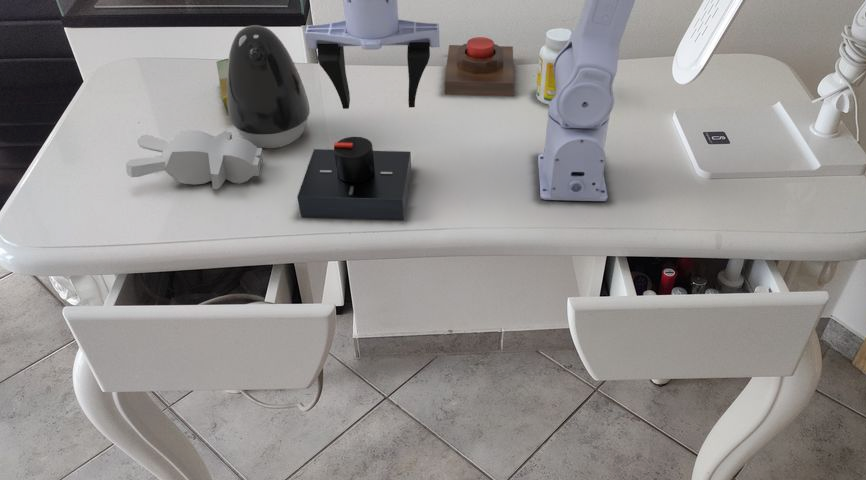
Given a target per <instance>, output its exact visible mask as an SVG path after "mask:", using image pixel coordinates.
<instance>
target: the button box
mask: <svg viewBox="0 0 866 480" xmlns="http://www.w3.org/2000/svg"><path fill="white" fill-rule="evenodd" d="M444 74H445V75H444V95H449V96H453V95H454V96H485V97H486V96H488V97H489V96H490V97H491V96H492V97H514V85H515V77H514V46H512V45H511V46H510V45H509V46H508V45H506V46H505V45H504V46H503V45H498V44H496V43H494V55H493V56H492V57H490V58H485V59H476V58H472V57H469V56H468V55H467V43H463V44H449V45H448V51H447V59H446V67H445V73H444Z"/></svg>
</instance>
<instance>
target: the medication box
mask: <svg viewBox="0 0 866 480" xmlns="http://www.w3.org/2000/svg"><path fill="white" fill-rule="evenodd" d="M228 59H229V57H227V58H225V59H221V60H218V61H216V63H215V64H216V70H217V76H218V82H219V88H220V94H221V99H222V102H223V103H222V104H223V105H224V108H225V110H226V114H227V116H228V117H229V113H228V104H227V69H228Z"/></svg>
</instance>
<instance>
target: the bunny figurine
mask: <svg viewBox="0 0 866 480" xmlns="http://www.w3.org/2000/svg"><path fill="white" fill-rule="evenodd" d="M232 134H233V133H232V132H229V131H223V132H221V133H219V134H217V135H215V136H213V135H211V134H209V133H208V132H205V131H200V130H191V129H189V130H181V131H179V132H178V133H177V134H176V135H174V137H172V138H171V139H170V140H169V141H166V140H163V139H162V138H161V139H160V138H158V137H155V136H153V135H149V134H145V135H144V134H143V135H141V136H140V137H139V138H137V141H136V142H137V144H138V146H139V148H141V149H144V150H149V151H154V152H157V153H161V154H160V156H149V157H139V158H133V159H129V160H128V161H127V160H126V162H125V169H126V175H127V176H128V177H130V178H139V177H143V176H147V175H151V174H154V173H158V172H162V171H165V172H166V174H168V175H169V176H171V177H172V178H173V179H174V180H175V181H176V183H178V184H179V183H180V184H183V185H204V184H207V183H209V182H211V185H212V189H213V190H214V189H220V188H221V187H222V185H223V184H224V183H225V181H226V180H227V181H229V182H231V183H232V184H240V185H241V184H243V183H247V182H248V181H249V180H250V179H251V178H253V177H254V176H255V177H256V176H257V177H258V176H259V175H260V172H261V166H262V163H263V160H264V154H263V147H258V146H255V145H253V144H252V143H251V142H250V141H248V140H246V139H244V138H243V137H233V135H232Z"/></svg>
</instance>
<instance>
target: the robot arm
mask: <svg viewBox="0 0 866 480" xmlns="http://www.w3.org/2000/svg"><path fill="white" fill-rule="evenodd" d="M342 2H343V11H344V20H341V21H335V22H328V23H321V24H310V25H308V24H307V25H306V27H305V31H304V36H305V43H306V49H307V50H310V51H311V50H317V56H316V58H317V62H318V64H319V66H320V67H321V68H322V69H323V72H325V74H326V75H327V76H328V78H329V80H330V81H331V83H332V85H333V87H334V88H335V91H336V93H337V95H338V97H339V100H340V103H341V106H342V109H344V110H348V109H350V103H351V96H350V95H351V94H350V88H349V82H348V78H347V70H346V59H345V49H344V48H345V47H361V49H362V50H366V51H368V50H371V51H373V50H374V51H375V50H380V49H382V47H383V46H384V47H385V46H387V47H388V46H407V50H406V51H407V54H406V58H407V72H408V73H407V74H408V108H415V107H416V98H417V97H416V96H417V92H418V88H419V84H420V82H421V78H422V76H423V74H424V71H425V69H426V67H427V66H428V63H429V61H430V57H431V48H440V44H441V43H440V23H438V22H437V23H436V22H434V23H432V22H431V23H430V22H420V21H413V20H405V19H399V7H398V0H342ZM635 2H636V0H585V1H584V3H583V6H582V9H581V13H580V16H579V20H578V22H577V23H576V25H574V26H573V28H572V30H571V31H572V33H571V36H570V39H569V41H568V43H567V44H566V45H565V47H564V48H563V49H562V50H561V51H560V52H559V53H558V55H557V56H556V58H555V61H554V64H553V73H554V76H555V81H556V95H555V97H554V98H553V99H552V100H551V102H550V103H549V105H548V107H547V116H546V118H547V119H546V126H545V127H546V129H545V140H544V149H543V153H539V154H538V155H537V156H538V157H537V164H538V166H537V167H538V176H539V177H538V180H539V181H538V182H539V193H540V194H539V196H540V199H541V200H543V201H544V200H545V201H580V202H607V200H608V197H609V195H608V192H607V185H606V181H605V175H604V170H605V164H606V158H607V157H606V156H607V155H606V149H605V148H606V142H607V135H608V129H609V123H610V118H611V113H612V111H613V108H614V104H615V95H614V90H613V86H614V85H613V84H614V80H615V77H616V76H617V72H618V62H619V54H620V47H621V46H620V45H621V41H622V39H623V36H624V33H625V30H626V27H627V24H628V21H629V19H630V16H631V13H632V10H633V8H634V5H635Z"/></svg>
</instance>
